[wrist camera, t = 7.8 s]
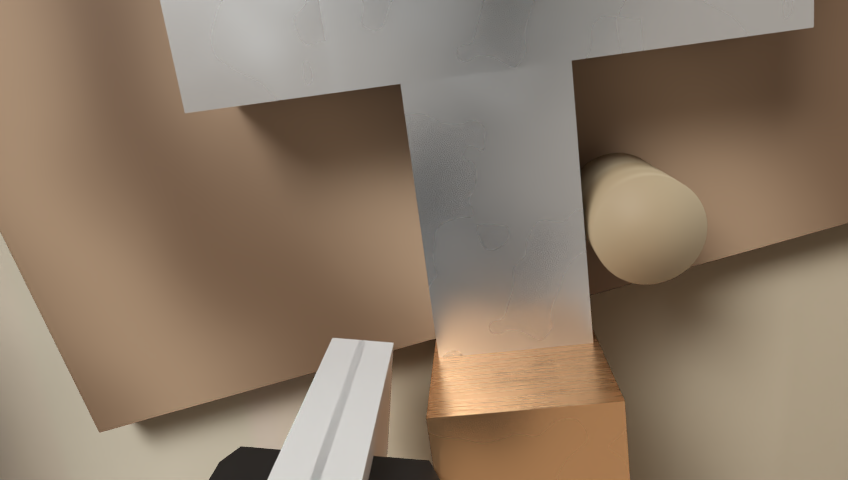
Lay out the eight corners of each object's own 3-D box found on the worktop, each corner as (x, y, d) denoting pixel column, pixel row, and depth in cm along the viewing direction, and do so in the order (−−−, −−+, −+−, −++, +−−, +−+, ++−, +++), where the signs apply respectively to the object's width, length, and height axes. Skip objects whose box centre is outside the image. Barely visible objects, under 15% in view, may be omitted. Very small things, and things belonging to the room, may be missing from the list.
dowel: (649, 140, 15) (693, 161, 12) (670, 226, 15) (718, 266, 12) (559, 168, 15) (579, 195, 12) (582, 251, 15) (608, 297, 12)
